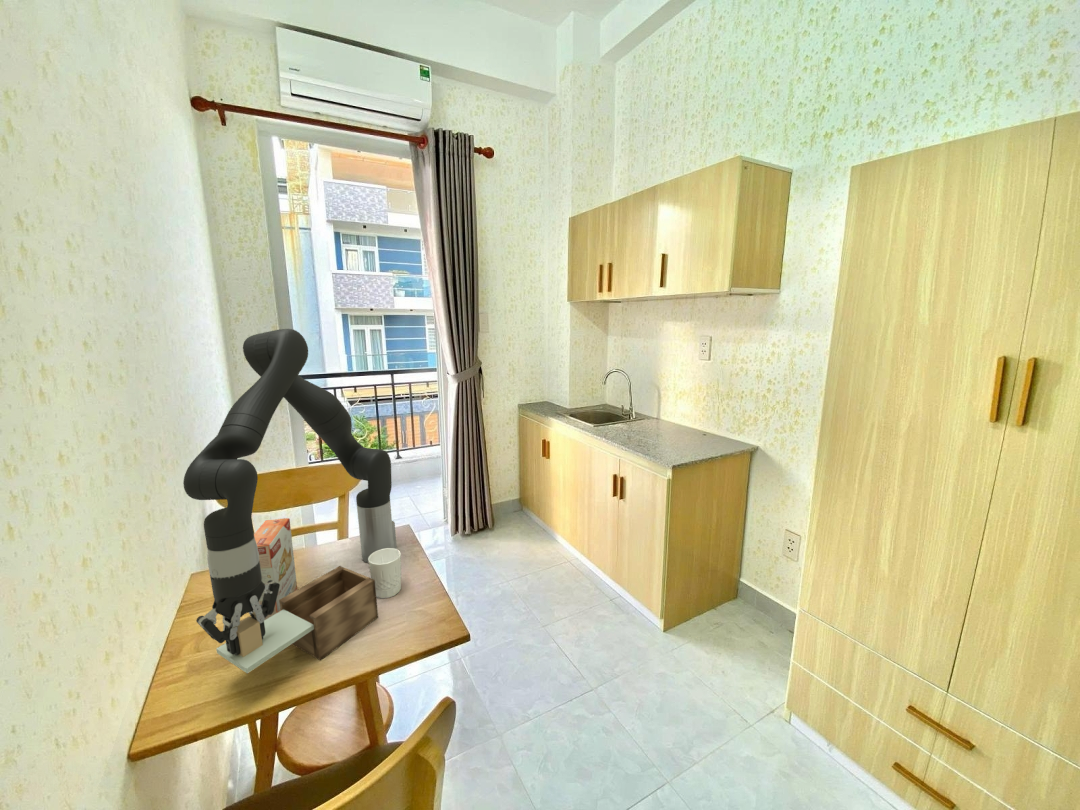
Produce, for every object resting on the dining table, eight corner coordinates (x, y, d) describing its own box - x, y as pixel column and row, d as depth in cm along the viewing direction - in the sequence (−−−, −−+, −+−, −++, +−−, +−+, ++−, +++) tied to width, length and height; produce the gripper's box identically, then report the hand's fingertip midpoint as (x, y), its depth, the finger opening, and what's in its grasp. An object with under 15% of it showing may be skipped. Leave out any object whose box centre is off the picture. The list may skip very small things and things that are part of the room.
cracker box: (282, 626, 100) (270, 543, 96) (253, 631, 99) (239, 547, 94) (300, 590, 113) (290, 516, 109) (274, 594, 112) (263, 519, 108)
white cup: (404, 596, 111) (401, 560, 109) (371, 603, 108) (367, 566, 106) (402, 579, 118) (399, 545, 116) (371, 585, 115) (368, 551, 113)
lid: (284, 613, 94) (280, 588, 93) (314, 628, 89) (311, 602, 88) (216, 653, 83) (212, 625, 81) (247, 673, 78) (242, 644, 77)
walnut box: (343, 601, 109) (339, 565, 107) (378, 617, 103) (374, 579, 101) (284, 640, 96) (279, 599, 94) (320, 660, 90) (315, 618, 88)
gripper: (262, 542, 87) (273, 617, 90) (178, 578, 75) (194, 664, 78) (285, 551, 83) (295, 629, 87) (200, 591, 71) (216, 680, 75)
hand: (247, 645), depth 82 cm, fingers closed on lid, 3 cm apart
